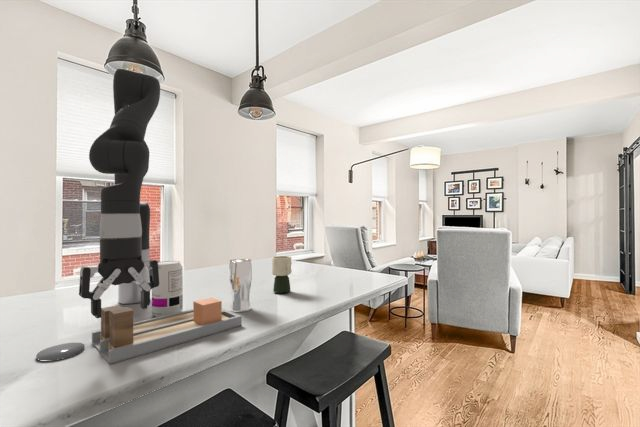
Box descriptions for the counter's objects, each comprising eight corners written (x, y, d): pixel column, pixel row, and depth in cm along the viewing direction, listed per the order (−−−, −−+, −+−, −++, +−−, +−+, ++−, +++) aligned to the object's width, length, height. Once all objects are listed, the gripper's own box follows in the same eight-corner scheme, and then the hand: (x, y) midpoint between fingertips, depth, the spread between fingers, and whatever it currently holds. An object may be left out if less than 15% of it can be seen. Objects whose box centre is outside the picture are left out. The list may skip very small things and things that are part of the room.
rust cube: (193, 321, 82) (193, 301, 82) (212, 316, 86) (211, 297, 86) (202, 325, 79) (202, 305, 79) (221, 320, 82) (221, 301, 82)
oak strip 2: (108, 349, 69) (108, 309, 69) (220, 320, 88) (220, 288, 88) (115, 357, 65) (115, 314, 65) (231, 324, 84) (230, 291, 84)
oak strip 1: (100, 340, 74) (99, 307, 74) (207, 314, 93) (207, 287, 93) (106, 347, 70) (106, 312, 70) (217, 318, 89) (217, 290, 89)
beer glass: (246, 313, 95) (246, 262, 95) (224, 312, 96) (224, 261, 96) (255, 306, 102) (255, 258, 102) (235, 305, 103) (234, 258, 103)
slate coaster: (34, 353, 69) (34, 350, 69) (80, 342, 74) (80, 339, 74) (38, 365, 63) (38, 362, 63) (88, 352, 69) (88, 349, 69)
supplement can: (151, 320, 90) (151, 265, 89) (151, 312, 97) (151, 261, 97) (183, 315, 93) (183, 263, 93) (181, 308, 101) (181, 259, 101)
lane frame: (91, 342, 74) (91, 332, 74) (212, 313, 95) (212, 304, 95) (110, 364, 63) (109, 351, 63) (241, 325, 85) (241, 316, 85)
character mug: (298, 293, 118) (298, 257, 118) (281, 297, 113) (281, 259, 113) (282, 288, 126) (282, 254, 126) (266, 291, 122) (265, 256, 122)
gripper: (150, 233, 76) (151, 302, 76) (75, 236, 66) (76, 316, 66) (163, 234, 71) (164, 308, 71) (84, 238, 61) (84, 325, 61)
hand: (121, 312), depth 68 cm, fingers open, 8 cm apart
